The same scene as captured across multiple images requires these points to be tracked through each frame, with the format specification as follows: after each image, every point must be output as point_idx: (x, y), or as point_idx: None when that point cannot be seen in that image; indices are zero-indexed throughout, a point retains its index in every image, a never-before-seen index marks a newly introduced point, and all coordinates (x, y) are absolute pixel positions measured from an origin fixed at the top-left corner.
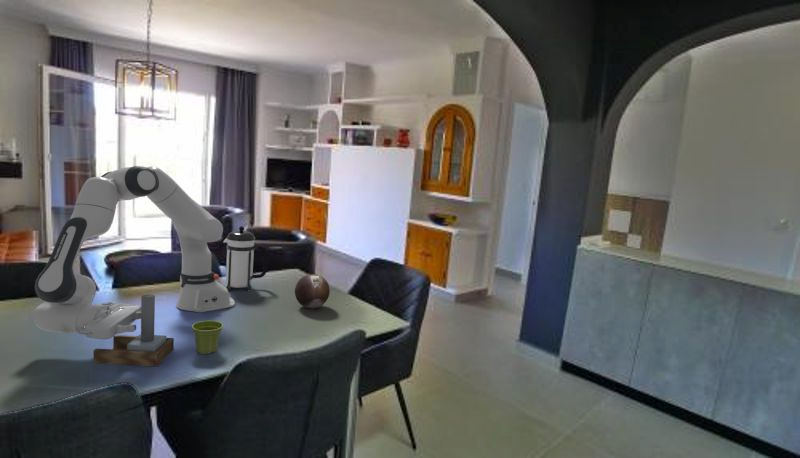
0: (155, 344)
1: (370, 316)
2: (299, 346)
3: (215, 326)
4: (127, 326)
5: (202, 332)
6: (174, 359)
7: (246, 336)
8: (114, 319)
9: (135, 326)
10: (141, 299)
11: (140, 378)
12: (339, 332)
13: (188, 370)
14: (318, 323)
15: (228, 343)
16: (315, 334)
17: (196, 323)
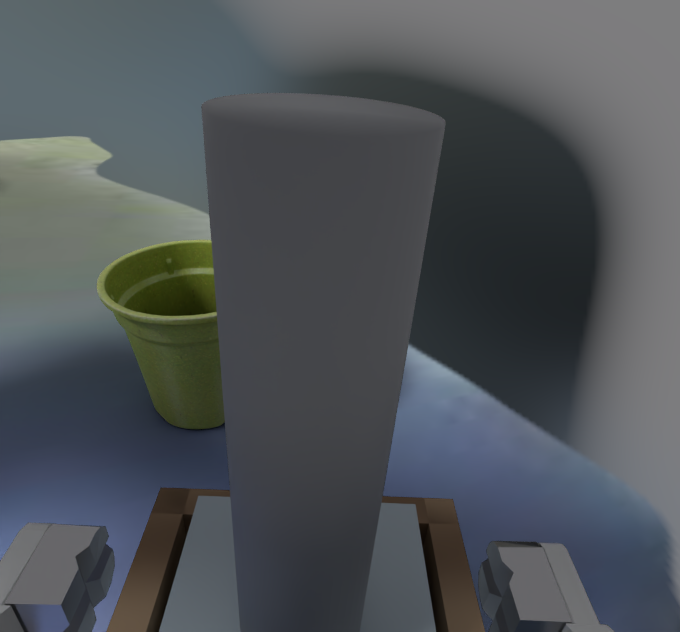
0: (389, 510)
1: (5, 151)
2: (197, 224)
3: (134, 285)
4: (600, 627)
5: None
6: None
7: (58, 309)
8: None
9: (510, 543)
10: (401, 195)
11: (612, 588)
12: (107, 182)
13: (433, 414)
14: (7, 199)
15: (128, 345)
16: (107, 205)
17: (138, 312)
